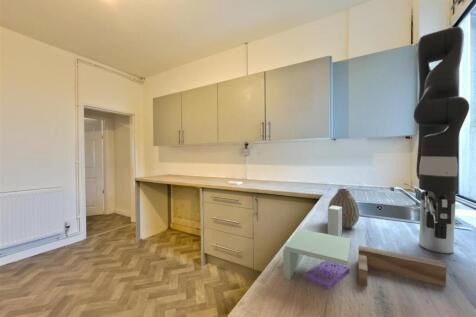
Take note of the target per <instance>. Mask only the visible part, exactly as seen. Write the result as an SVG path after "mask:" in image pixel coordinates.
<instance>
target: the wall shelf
mask: <svg viewBox="0 0 476 317" xmlns="http://www.w3.org/2000/svg"><path fill="white" fill-rule="evenodd" d="M351 245H352V238H349V237H348V238H347V237H344V236H340V237H339V236H334V235H328V233H322V232H315V231H311V230H306V229H301V228H299V229H298V230H297V231H296V232H295V234H294V235H293V236H292V237H291V238H290V240H289V241H288V242H287V243H286V244H285V245H284V248H283V249H282V278H284V279H287V280H291V278H293V275H294V273H295V272H296V270H297V268H298V267H299V265H300V263H301V261H302V260H303V257H304V256H306V257H310V258H314V259H318V260H322V261H324V260H326V261H330V262H334V263H338V264H340V265H341V264H342V265H345V266H348V267H349V261H350V259H349V258H350V252H351V247H352V246H351Z"/></svg>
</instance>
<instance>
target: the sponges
mask: <svg viewBox="0 0 476 317" xmlns="http://www.w3.org/2000/svg"><path fill="white" fill-rule="evenodd" d="M350 270H351V268H350V266H349V265H348V266H346V265H342V264H338V263H334V262H330V261H326V260H322V262H320V263H318V264H317V265H316V266H314V267H313V268H311V269H310V270H308V271H306V272H305V275H304V276H305V277H306V279H307V280H309V281H312V282H313V283H315V284H317V285H320V286H321V287H323V288H325V289H326V290H327V289H328V290H331V289H332V288H333V287H334V286H335V285H336V284H338V283H339V282H340V281H341V280H342V279H343V278H344V277H345V276H347V275H348V274H349V273H350V272H351V271H350Z"/></svg>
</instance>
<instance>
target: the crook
mask: <svg viewBox="0 0 476 317" xmlns="http://www.w3.org/2000/svg"><path fill="white" fill-rule="evenodd" d="M357 255H358V258H357V259H358V260H357V261H358V265H357V266H358V268H357V269H358V274H357V275H358V285H363V286H366V287H367V286H368V273H369V272H368V271H369V270H368V269H371V270H375V271H379V272H384V273H388V274H393V275H397V276H400V277H405V278H410V279H414V280H418V281H422V282H426V283H427V282H428V283H431V284H435V285H441V286H444V287H446V286H447V269H448V268H447V266H446V265H445V264H444V262H443V261H442V260H436V259H430V258H426V257H421V256H414V255H410V254H405V253H399V252H396V251H395V252H394V251H389V250H385V249H379V248H373V247H367V246H364V245H363V246H362V245H358V254H357Z"/></svg>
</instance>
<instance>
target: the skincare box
mask: <svg viewBox="0 0 476 317" xmlns="http://www.w3.org/2000/svg"><path fill="white" fill-rule="evenodd" d="M327 234H328V235H334V236H339V237H342V236H343V235H342V234H343V229H342V207H339V206H333V205H332V206H331V207H329V208H328V207H327Z"/></svg>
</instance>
